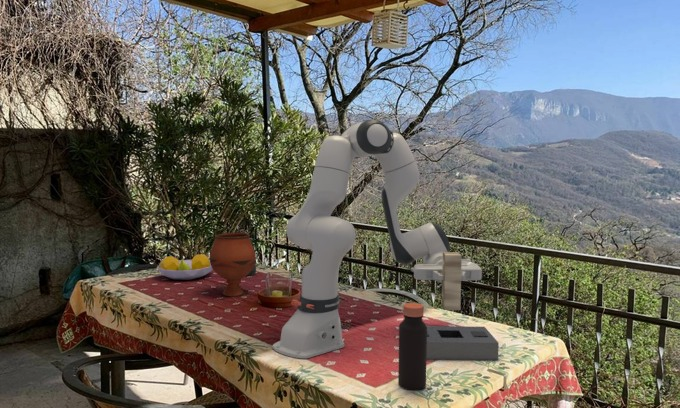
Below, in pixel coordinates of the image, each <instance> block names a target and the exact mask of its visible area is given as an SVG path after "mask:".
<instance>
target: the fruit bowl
mask: <svg viewBox="0 0 680 408" xmlns="http://www.w3.org/2000/svg"><path fill="white" fill-rule="evenodd" d="M156 269H157V270H158V271H159V273H160V274H161V275H162V276H164V277H167V278H168V279H172V280H179V281H180V280H181V281H182V280H184V281H191V280H195V279H197V278H201V277H203V276H206V275H208V274H209V273H210V272H213V271H214V270H213V268H212V267H211V264H210V258H208V256H207V255H206V254H204V253H203V254H201V253H200V254H195V255H194V256H193V258H192V259H180V260H179V259H178V258H176V257H175V256H173V255H169V256H168V255H167V256H165V257H164V258H162V259H161V260H160V263H159V265H157V266H156Z"/></svg>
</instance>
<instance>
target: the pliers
mask: <svg viewBox="0 0 680 408" xmlns="http://www.w3.org/2000/svg"><path fill="white" fill-rule="evenodd" d="M339 294H340V293H339V291H338V295H339ZM342 301H344V302H348V299H347V298H345V297H343V296H341V295H339V303H342Z"/></svg>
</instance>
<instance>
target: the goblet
mask: <svg viewBox="0 0 680 408" xmlns="http://www.w3.org/2000/svg"><path fill="white" fill-rule="evenodd" d="M214 237H215V238H214V241H213V244H212V246H211V250H210V253H209V261H210V264H211V267H212V268H213V271H214V272H215V273H216V274H217V276H219V277H220V278H223V279H224V280H226V284H227V286H226V287H225V288H224V289H223V292H222V295H224V296H225V297H227V296H228V297H236V296H237V297H238V296H241V295H243V294H244V289H243V288H242V287H241V286H240V283H242V279H244V278H246V277H245V276H246V275H248V274H249V272H250V271H251V270H252V269H253V267H254V265H255V262H256V263H257V256H256V252H255V248H254V246H253V244H252V241H251V239H250V238H251V235H250V234H249V233H245V232H226V233H219V234H217V235H215V236H214Z"/></svg>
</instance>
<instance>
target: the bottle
mask: <svg viewBox="0 0 680 408" xmlns="http://www.w3.org/2000/svg"><path fill="white" fill-rule="evenodd" d="M402 307H403V308H402V310H403V311H402V313H403V317H404V319H403V320H402V321H401V322H400V323H399V326H398V369H397V370H398V372H397V373H398V376H397V377H398V379H397V381H398V385H399V386H400V387H401V388H402V387H403V388H402V389H404V390H405V389H406V390H409V391H419V390H423V389H424V388H425V387H426V385H427V360H426V355H427V326H428V325H427V324H426V323H425V321H424V320H423V317H424V305H423V304H422V303H418V302H407V303H404V304H403V306H402Z"/></svg>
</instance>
